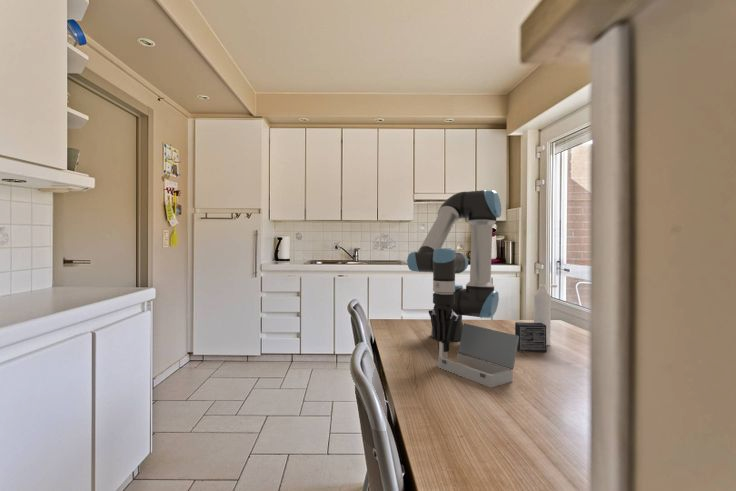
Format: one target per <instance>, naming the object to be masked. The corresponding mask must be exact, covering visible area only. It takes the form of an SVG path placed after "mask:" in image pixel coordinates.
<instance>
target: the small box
mask: <svg viewBox="0 0 736 491" xmlns="http://www.w3.org/2000/svg"><path fill="white" fill-rule="evenodd" d="M514 324H515V325H514V330H515V331H514V332H515V334H514V335H517V336H519V340H518V345H517V351H518V352H525V353H526V352H534V353H536V352H537V353H547V346H546V325H544V324H543V323H534V322H524V321H523V322H521V321H517V322H514Z"/></svg>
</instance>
